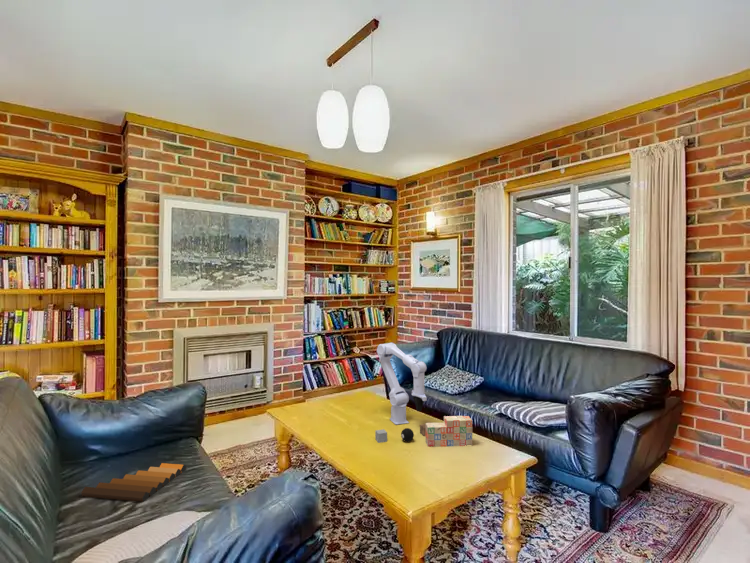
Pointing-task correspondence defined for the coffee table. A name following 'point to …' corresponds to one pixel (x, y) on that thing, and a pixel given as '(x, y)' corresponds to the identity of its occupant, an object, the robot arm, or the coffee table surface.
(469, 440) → the stack of blocks
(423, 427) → the walnut block
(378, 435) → the grey block
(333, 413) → the coffee table surface
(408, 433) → the billiard ball
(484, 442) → the coffee table surface
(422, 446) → the coffee table surface
